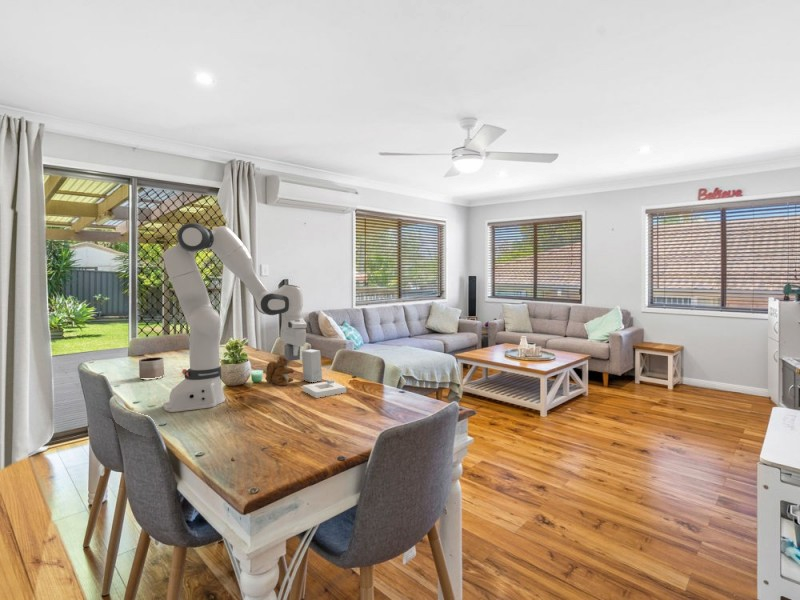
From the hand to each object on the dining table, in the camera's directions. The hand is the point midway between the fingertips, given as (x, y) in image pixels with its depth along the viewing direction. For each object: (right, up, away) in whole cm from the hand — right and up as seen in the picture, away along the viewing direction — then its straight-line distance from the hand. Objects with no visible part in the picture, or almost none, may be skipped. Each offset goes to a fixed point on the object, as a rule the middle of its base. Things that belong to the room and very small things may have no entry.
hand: (292, 354), depth 191 cm
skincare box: (+4, -16, +22) cm, 27 cm away
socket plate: (+14, -17, +2) cm, 22 cm away
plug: (0, -2, 0) cm, 2 cm away
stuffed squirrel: (-11, -16, +19) cm, 28 cm away
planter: (-78, -16, +32) cm, 86 cm away
